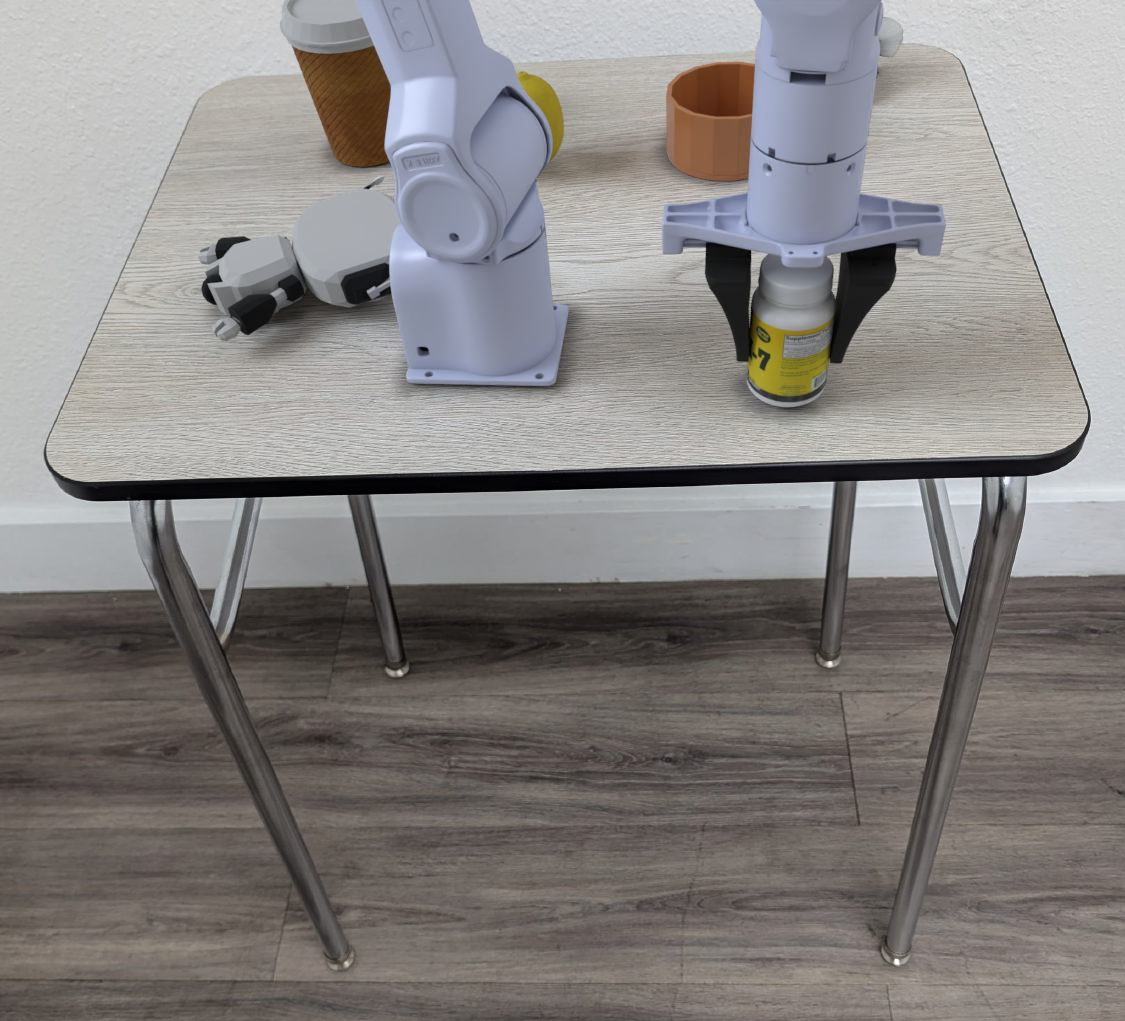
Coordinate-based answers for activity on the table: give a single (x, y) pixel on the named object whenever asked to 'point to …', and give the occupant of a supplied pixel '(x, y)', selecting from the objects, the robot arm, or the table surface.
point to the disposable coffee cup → (341, 76)
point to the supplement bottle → (790, 332)
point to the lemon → (545, 105)
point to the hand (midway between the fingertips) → (787, 352)
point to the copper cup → (711, 120)
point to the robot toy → (304, 261)
